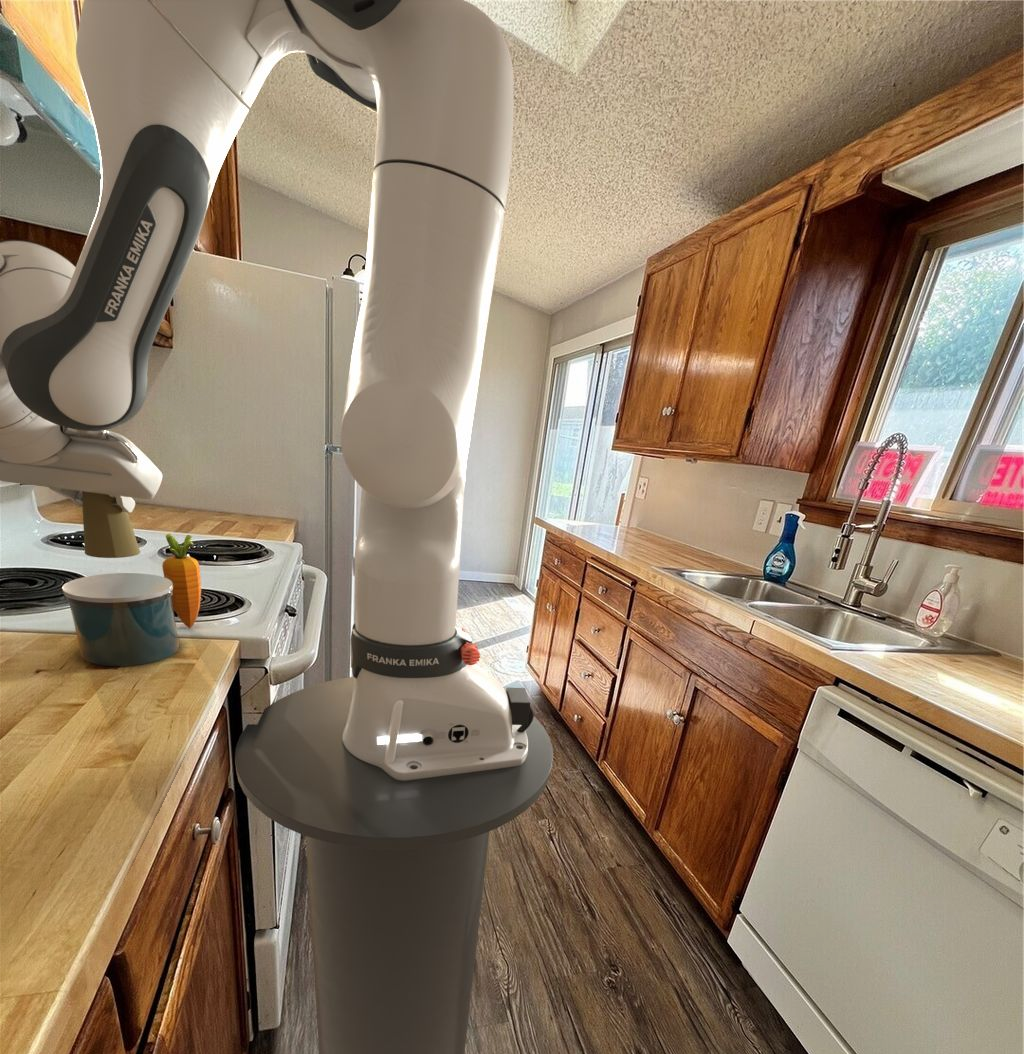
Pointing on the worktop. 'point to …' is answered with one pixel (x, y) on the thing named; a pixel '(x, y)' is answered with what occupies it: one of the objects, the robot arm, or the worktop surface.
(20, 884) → the worktop surface
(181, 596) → the carrot
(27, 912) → the worktop surface
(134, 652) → the pot
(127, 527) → the tan pepper shaker
